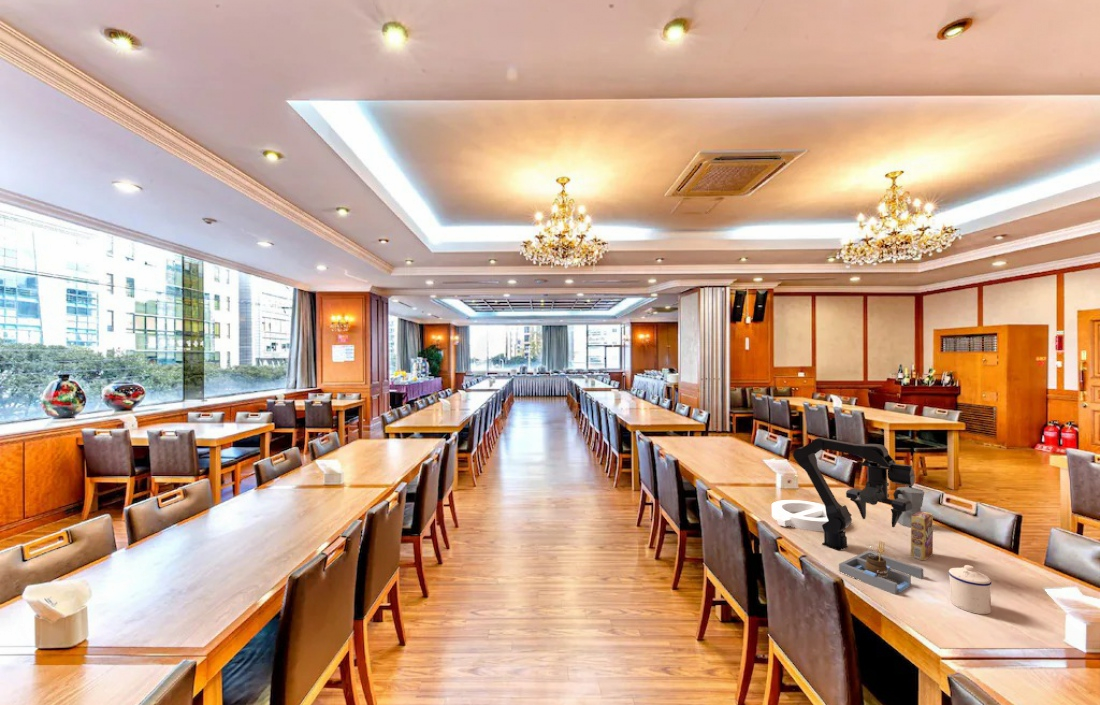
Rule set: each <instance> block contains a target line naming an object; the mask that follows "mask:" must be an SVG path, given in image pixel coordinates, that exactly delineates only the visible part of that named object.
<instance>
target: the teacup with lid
mask: <svg viewBox="0 0 1100 705" xmlns="http://www.w3.org/2000/svg"><path fill="white" fill-rule="evenodd" d="M947 573H948V578H949V601H950V602H951V604H953V605H954V606H956V607H957V608H958V609H960V610H961V609H962V610H963V611H966V612H969V613H971V614H972V613H974V614H978V615H988V614H990V613H991V612H992V602H991V600H992V596H991V585H992V581H991V579H990V578H989V576H987V575H986V574H983V573H981V572H979V571H977V570H975V568H974V567H973V566H972V565H969V564H966V565H965V564H964V566H963V567H952V568H951V567H950V569H948V572H947Z"/></svg>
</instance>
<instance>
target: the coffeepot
mask: <svg viewBox="0 0 1100 705" xmlns="http://www.w3.org/2000/svg"><path fill="white" fill-rule="evenodd" d="M892 495H893V498H894V499H897V498H900V499H905V500H909V501H910V502H911V503H912V509H911V510H908V511H905V512H903V513H902V514H901V516H900V517H899V519H898V521H897V523H898V524H899V525H900V526H903V527H907V528H911V516H912V515H914V514H916V513H918V512H919V511H921V512H922V507H923V504H924V503H923V502H924V497H925V491H924V489H920V488H916V487H913V486H910V485H907V486H898V487H897V488H896V489H895V491H894V492H893V494H892ZM894 499H893V500H894Z"/></svg>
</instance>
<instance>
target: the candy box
mask: <svg viewBox="0 0 1100 705" xmlns="http://www.w3.org/2000/svg"><path fill="white" fill-rule="evenodd" d="M933 518H934V516H933V514H932V513H931V512H925V511H922V510H921V511H919V512H918V513H916V514H914V515H912V516H911V529H910V557H911V558H913V557H914V559H916V558H917V560H919V559H920V560H921V561H925V560H927V559H928V558H930V557H932V556H933V553H934V552H933V551H934V550H933V546H934V544H933V542H934V541H933V540H934V539H933V538H934V537H933V536H934V535H933V534H934V530H933V529H934V527H933V525H934V524H933V522H934V520H933ZM920 560H919V561H920Z"/></svg>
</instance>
